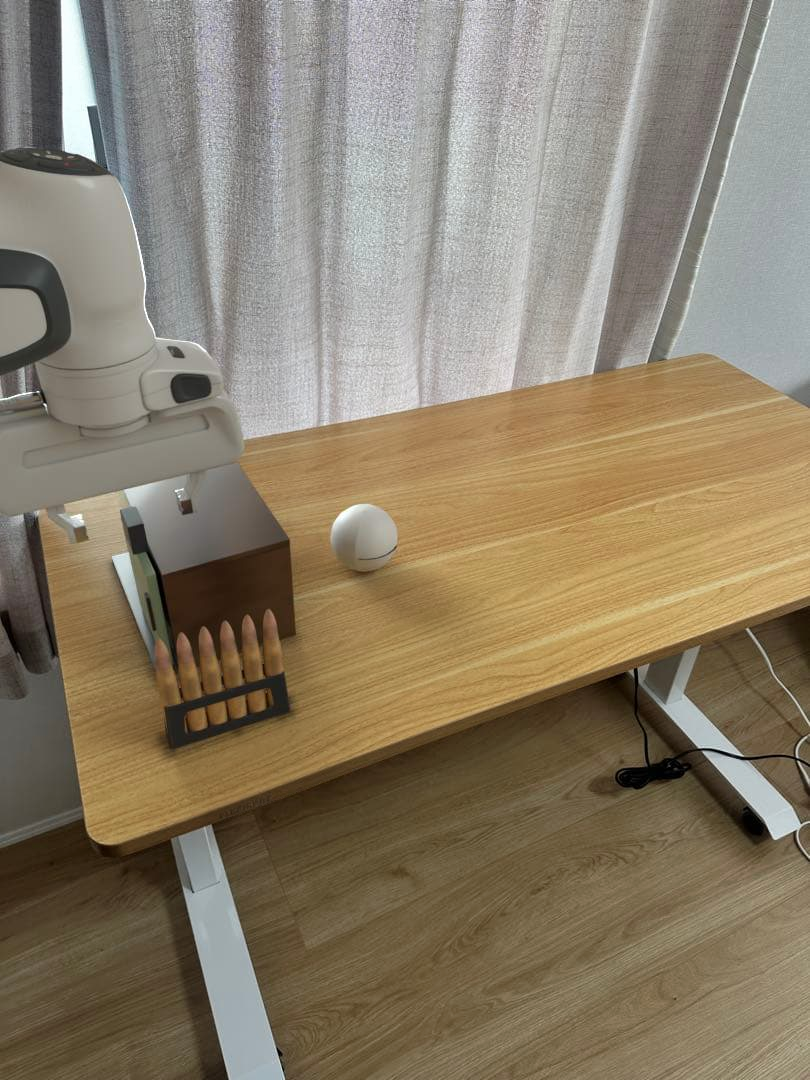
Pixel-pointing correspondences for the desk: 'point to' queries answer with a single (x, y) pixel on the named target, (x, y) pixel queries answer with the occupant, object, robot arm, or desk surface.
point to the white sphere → (364, 537)
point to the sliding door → (144, 574)
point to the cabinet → (211, 560)
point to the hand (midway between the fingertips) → (135, 524)
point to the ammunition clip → (221, 683)
